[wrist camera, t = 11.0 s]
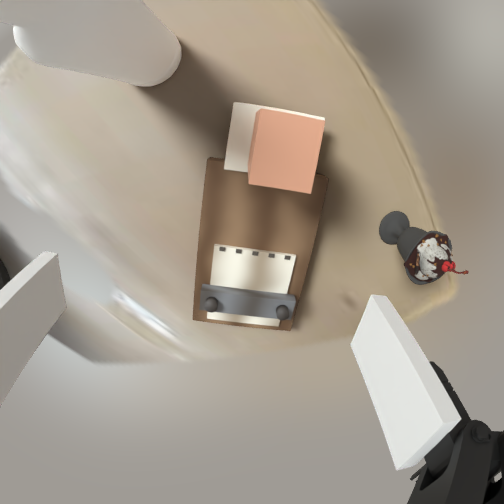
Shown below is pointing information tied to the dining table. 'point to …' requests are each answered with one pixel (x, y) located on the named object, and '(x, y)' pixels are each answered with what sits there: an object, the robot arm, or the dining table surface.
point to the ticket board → (253, 249)
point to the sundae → (418, 248)
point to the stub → (274, 146)
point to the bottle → (95, 38)
